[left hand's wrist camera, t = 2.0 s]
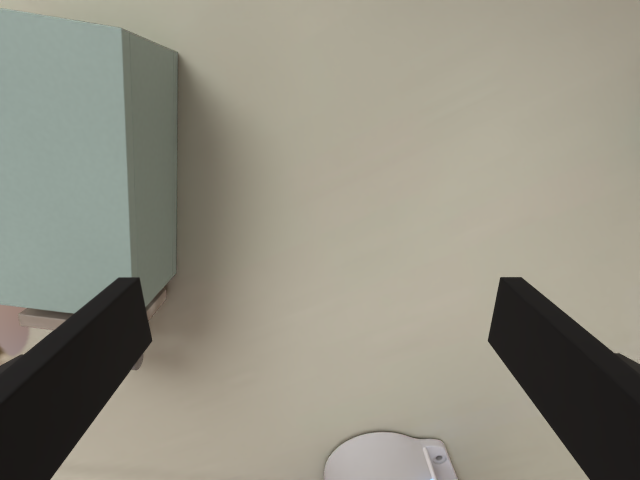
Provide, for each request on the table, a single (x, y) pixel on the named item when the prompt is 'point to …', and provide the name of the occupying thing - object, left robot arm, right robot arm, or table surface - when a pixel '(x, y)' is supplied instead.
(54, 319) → the drawer
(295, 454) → the table surface
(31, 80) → the cabinet
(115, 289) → the left robot arm
